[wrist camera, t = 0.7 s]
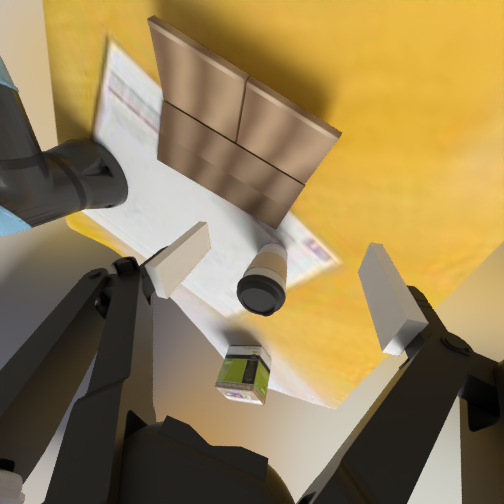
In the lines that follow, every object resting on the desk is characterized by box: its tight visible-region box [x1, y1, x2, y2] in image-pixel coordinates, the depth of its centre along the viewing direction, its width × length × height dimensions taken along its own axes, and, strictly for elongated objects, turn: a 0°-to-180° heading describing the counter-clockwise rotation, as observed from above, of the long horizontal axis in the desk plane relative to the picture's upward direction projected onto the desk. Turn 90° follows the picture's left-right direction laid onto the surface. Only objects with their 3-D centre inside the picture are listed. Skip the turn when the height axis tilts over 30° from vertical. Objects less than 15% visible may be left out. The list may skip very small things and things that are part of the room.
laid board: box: [157, 101, 305, 229], centre depth 35 cm, size 28×10×1 cm, turn 65°
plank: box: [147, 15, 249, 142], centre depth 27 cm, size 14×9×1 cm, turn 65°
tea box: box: [215, 346, 272, 405], centre depth 66 cm, size 15×10×15 cm, turn 116°
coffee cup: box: [237, 243, 287, 316], centre depth 37 cm, size 9×9×15 cm
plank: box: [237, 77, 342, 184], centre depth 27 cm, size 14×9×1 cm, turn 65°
